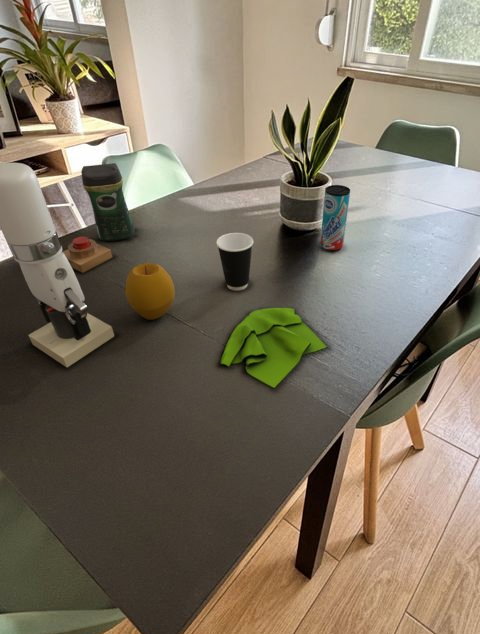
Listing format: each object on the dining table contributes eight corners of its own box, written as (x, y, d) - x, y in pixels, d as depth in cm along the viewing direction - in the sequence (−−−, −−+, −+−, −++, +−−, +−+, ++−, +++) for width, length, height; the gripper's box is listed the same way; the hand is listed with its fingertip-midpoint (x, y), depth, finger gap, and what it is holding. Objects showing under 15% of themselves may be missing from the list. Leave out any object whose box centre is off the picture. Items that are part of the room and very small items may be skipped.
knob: (73, 319, 85) (63, 293, 81) (89, 328, 82) (79, 302, 78) (51, 332, 82) (39, 305, 78) (66, 342, 80) (54, 315, 75)
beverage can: (315, 246, 111) (319, 189, 101) (330, 239, 114) (336, 182, 104) (332, 254, 108) (338, 196, 98) (347, 247, 111) (355, 190, 101)
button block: (60, 261, 106) (54, 247, 104) (90, 247, 112) (85, 233, 109) (82, 273, 102) (77, 258, 100) (112, 257, 108) (108, 243, 105)
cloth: (294, 302, 93) (294, 293, 91) (342, 369, 77) (343, 359, 76) (203, 323, 87) (201, 314, 86) (234, 399, 72) (234, 389, 71)
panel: (32, 344, 83) (27, 334, 81) (80, 316, 90) (76, 306, 88) (67, 367, 78) (62, 357, 76) (114, 336, 85) (111, 325, 83)
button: (71, 247, 104) (69, 241, 103) (84, 241, 106) (82, 235, 105) (80, 251, 103) (78, 245, 101) (93, 245, 105) (91, 239, 104)
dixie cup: (213, 288, 97) (208, 244, 90) (232, 272, 102) (229, 229, 95) (242, 298, 94) (240, 253, 87) (261, 281, 99) (260, 237, 92)
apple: (165, 333, 85) (155, 284, 77) (122, 324, 87) (108, 275, 79) (186, 305, 92) (178, 257, 84) (146, 298, 94) (134, 250, 86)
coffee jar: (134, 226, 120) (119, 158, 108) (135, 239, 114) (119, 168, 102) (99, 231, 118) (79, 161, 106) (98, 244, 113) (77, 172, 100)
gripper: (87, 250, 68) (114, 333, 80) (26, 222, 76) (58, 302, 88) (46, 271, 64) (80, 356, 76) (-15, 239, 71) (25, 320, 83)
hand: (68, 327), depth 82 cm, fingers open, 8 cm apart
